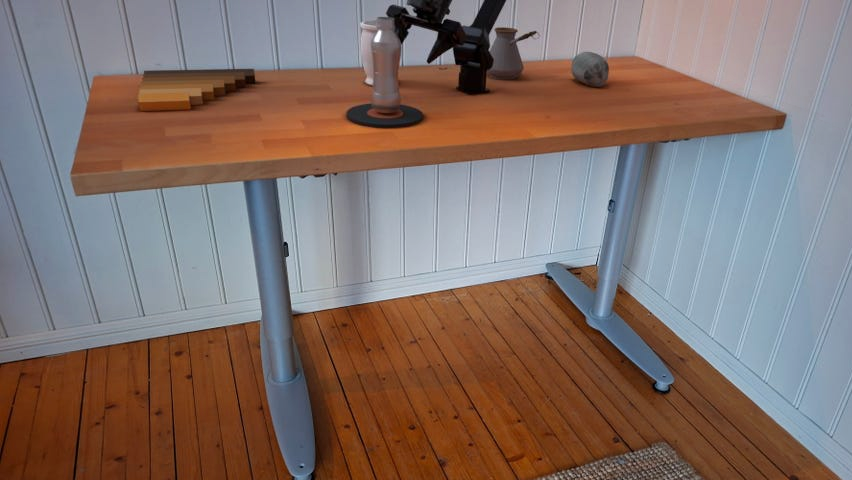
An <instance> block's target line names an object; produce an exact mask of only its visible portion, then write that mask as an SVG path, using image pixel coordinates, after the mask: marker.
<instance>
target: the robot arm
mask: <svg viewBox="0 0 852 480" xmlns="http://www.w3.org/2000/svg"><path fill="white" fill-rule="evenodd" d="M452 2H453V0H406V5H407V6H411V7H412V12H413V13H414V14H415V15H416V16H415V15H411V14H410V12H409V11H408V9H407V7H405V6H400V5H397V4H391V5H389V6H388V7H387V10H386V12H385V15H386V17H391V18H394V25H395V28H394V32H395V33H396V35H397V36H398V38H399V40H400V42H401V46H402V45H403V44H404V42H405V40H406V39H407V37H408V36H409V34H410V32H409V31H408V30H410V29H411V28H412V26H415V27H417V28H422V29H425V30H429V31H432V32H437V37H436V39H435V42H434V44H433V45H432V48H431V50H430V51H429V54H428V56H427V59H426V63H427V64H428V65H430V64H432V63H433V62H434V61H435V60H437V59H438V58H439V57H440V56H442V55H443V54H445V53H446V52H448V51H449V50H451V49H452V54H453V59H454V65H455V66H460V68H459V69H460V71H459V73H458V83H457V84H458V86H456V87H455V89H456V90H458V91H461V92H463V93H466V94H468V95H475V94H482V93H490V89H488V88H487V75H488V73H487V70H490V68H492V66H493V62H494V59H493V57H492V55H491V53H490V52H489V51H490V49H491V43H490V42H491V40H490V34H491V32H492V30H493V28H494V26H495V24H496V22H497V20H498V19H499V15H500V14H501V12H502V10H503V8H504V6H505V4H506V2H507V0H483V2H482V4H481V6H480V8H479V10H478V12H477V14H476V16H475V18H474V20H473V22H472V23H471V25H469V26H468V25H462V23H461V22H460V21H457V20H454V19H449V18H445V17H446V15H447V16H450V13H451V9H450V6H451V4H452Z"/></svg>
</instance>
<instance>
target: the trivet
mask: <svg viewBox="0 0 852 480" xmlns="http://www.w3.org/2000/svg"><path fill="white" fill-rule="evenodd" d="M346 118H347V120H348V121H350V122H352V123H354V124H356V125H359V126H364V127H369V128H378V129H397V128H405V127H412V126H415V125H417V124H419V123H422V121H423V119H424V113H423V112H422V110H420V109H419V108H416V107H414V106H410V105H406V104H402V103H401V104H400V108H399V110H398V111H397V112H395V113H380V112H376V111H374V109H373V108H372V105H371V102H370V103H363V104H359V105H355V106H352V107H350V108H349V109H347V110H346Z"/></svg>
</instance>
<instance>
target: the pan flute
mask: <svg viewBox="0 0 852 480" xmlns="http://www.w3.org/2000/svg"><path fill="white" fill-rule="evenodd" d="M246 84H247V85H248V84H250V85H251V84H256V75H255V69H254V68H219V69H218V68H214V69H212V68H211V69H164V70H163V69H160V70H159V69H158V70H155V69H154V70H143V74H142V78H141V81H140V85H139V89H138V93H137V100H138V106H139V111H140V112H150V111H151V112H153V111H155V112H156V111H179V110H181V111H183V110H191V109H192V106H194V105H195V106H197V105H204V101H215V97H217V96H218V97H219V96H220V97H221V96H226V92H236V91H237V90H236V89H237V88H247V85H246Z"/></svg>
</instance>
